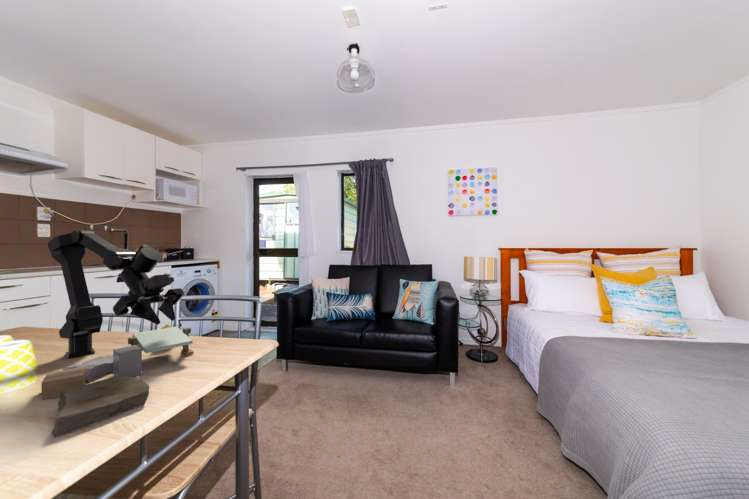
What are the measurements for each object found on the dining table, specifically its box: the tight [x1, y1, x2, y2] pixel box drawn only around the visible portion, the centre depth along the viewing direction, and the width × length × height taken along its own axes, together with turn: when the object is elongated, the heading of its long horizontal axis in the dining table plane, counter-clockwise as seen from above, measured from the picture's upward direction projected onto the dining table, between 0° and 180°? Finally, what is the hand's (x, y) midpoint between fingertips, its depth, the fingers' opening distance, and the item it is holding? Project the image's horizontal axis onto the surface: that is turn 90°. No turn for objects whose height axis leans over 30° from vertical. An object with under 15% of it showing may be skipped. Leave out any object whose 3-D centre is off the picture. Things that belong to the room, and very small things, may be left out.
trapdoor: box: [132, 326, 194, 354], centre depth 97 cm, size 15×12×5 cm
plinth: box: [41, 367, 87, 401], centre depth 76 cm, size 7×7×4 cm
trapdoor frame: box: [127, 327, 194, 357], centre depth 98 cm, size 5×17×8 cm, turn 139°
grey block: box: [112, 345, 143, 378], centre depth 85 cm, size 5×5×8 cm
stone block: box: [62, 354, 113, 383], centre depth 87 cm, size 12×5×10 cm
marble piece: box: [51, 375, 150, 437], centre depth 68 cm, size 17×15×4 cm
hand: (166, 321), depth 93 cm, fingers open, 4 cm apart
